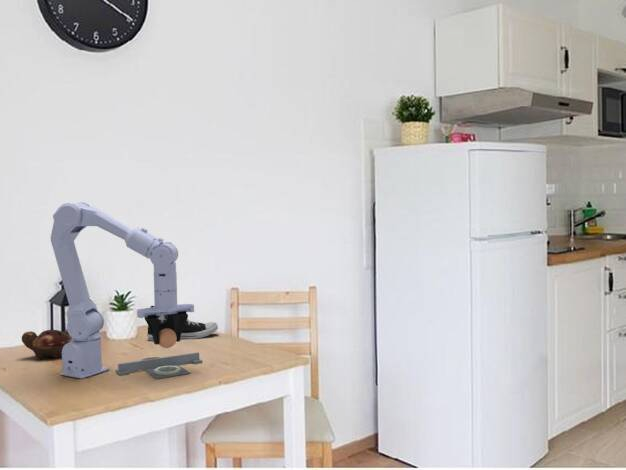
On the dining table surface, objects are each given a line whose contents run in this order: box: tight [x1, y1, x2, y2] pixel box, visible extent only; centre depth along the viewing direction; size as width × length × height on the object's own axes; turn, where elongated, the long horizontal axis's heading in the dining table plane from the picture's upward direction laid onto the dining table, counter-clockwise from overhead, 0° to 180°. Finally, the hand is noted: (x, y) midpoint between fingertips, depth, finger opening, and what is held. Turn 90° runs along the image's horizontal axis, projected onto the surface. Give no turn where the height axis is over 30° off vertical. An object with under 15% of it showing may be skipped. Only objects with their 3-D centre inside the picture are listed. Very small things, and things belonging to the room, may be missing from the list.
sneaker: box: [147, 305, 219, 342], centre depth 212 cm, size 8×22×12 cm, turn 100°
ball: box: [158, 328, 177, 349], centre depth 170 cm, size 5×5×5 cm
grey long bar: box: [115, 351, 203, 376], centre depth 176 cm, size 22×4×2 cm, turn 122°
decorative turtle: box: [21, 329, 72, 361], centre depth 188 cm, size 10×15×8 cm, turn 115°
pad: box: [144, 365, 191, 380], centre depth 171 cm, size 9×9×1 cm
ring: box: [141, 356, 161, 360], centre depth 181 cm, size 6×6×1 cm
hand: (167, 342), depth 170 cm, fingers closed on ball, 5 cm apart
